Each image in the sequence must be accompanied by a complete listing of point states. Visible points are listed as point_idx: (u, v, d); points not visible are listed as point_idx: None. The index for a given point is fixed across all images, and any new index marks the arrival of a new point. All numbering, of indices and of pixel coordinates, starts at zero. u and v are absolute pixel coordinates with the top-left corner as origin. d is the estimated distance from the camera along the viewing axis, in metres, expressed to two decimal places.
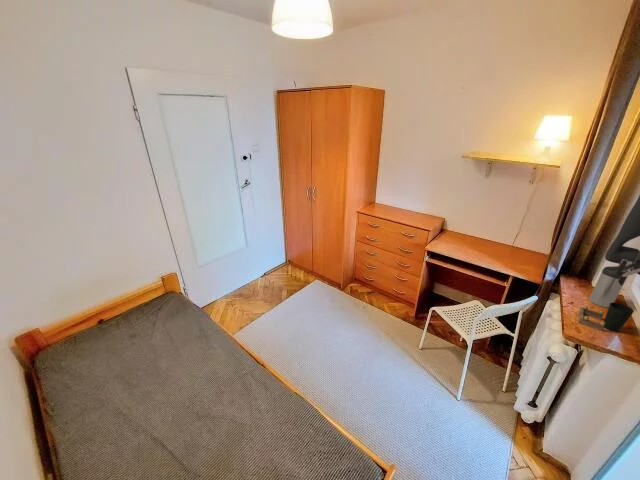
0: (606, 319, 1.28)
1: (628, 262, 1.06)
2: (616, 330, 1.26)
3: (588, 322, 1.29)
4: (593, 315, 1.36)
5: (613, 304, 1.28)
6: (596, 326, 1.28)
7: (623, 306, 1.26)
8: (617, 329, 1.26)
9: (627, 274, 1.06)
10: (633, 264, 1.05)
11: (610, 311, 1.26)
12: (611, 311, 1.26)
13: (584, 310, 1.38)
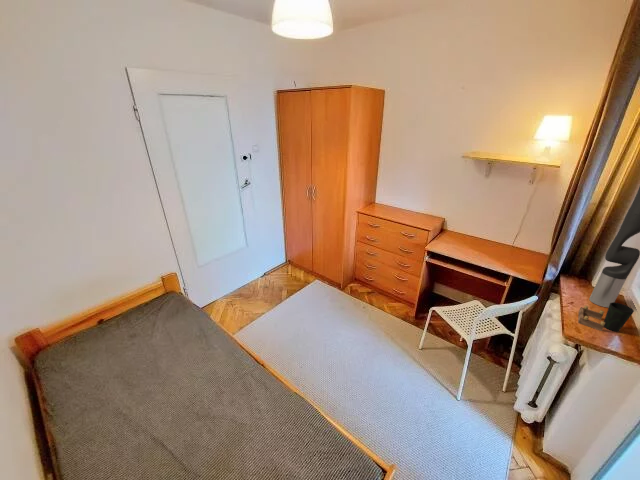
0: (606, 319, 1.28)
1: None
2: (616, 330, 1.26)
3: (588, 322, 1.29)
4: (593, 315, 1.36)
5: (613, 304, 1.28)
6: (596, 326, 1.28)
7: (623, 306, 1.26)
8: (617, 329, 1.26)
9: None
10: None
11: (610, 311, 1.26)
12: (611, 311, 1.26)
13: (584, 310, 1.38)
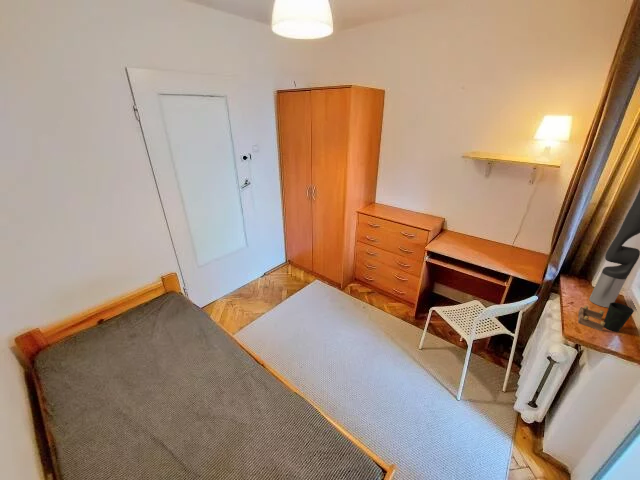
0: (606, 319, 1.28)
1: None
2: (616, 330, 1.26)
3: (588, 322, 1.29)
4: (593, 315, 1.36)
5: (613, 304, 1.28)
6: (596, 326, 1.28)
7: (623, 306, 1.26)
8: (617, 329, 1.26)
9: None
10: None
11: (610, 311, 1.26)
12: (611, 311, 1.26)
13: (584, 310, 1.38)
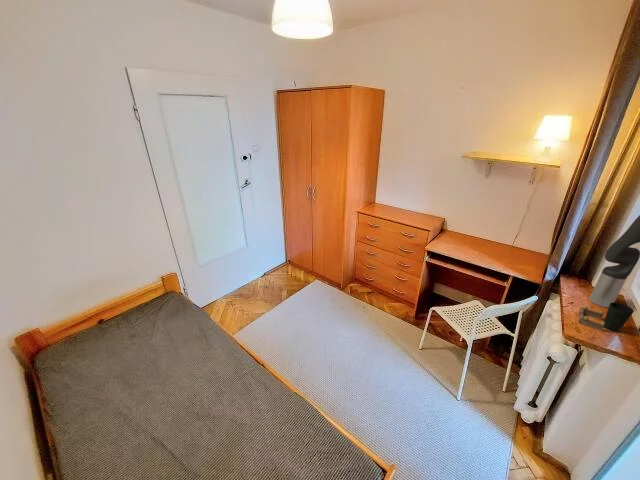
0: (606, 319, 1.28)
1: None
2: (616, 330, 1.26)
3: (588, 322, 1.29)
4: (593, 315, 1.36)
5: (613, 304, 1.28)
6: (596, 326, 1.28)
7: (623, 306, 1.26)
8: (617, 329, 1.26)
9: None
10: None
11: (610, 311, 1.26)
12: (611, 311, 1.26)
13: (584, 310, 1.38)
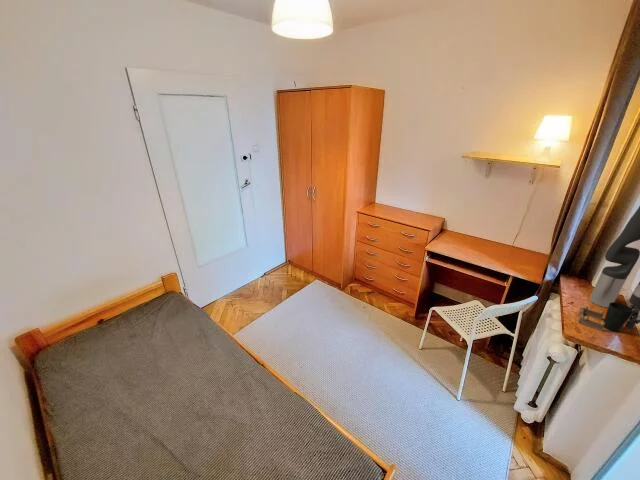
0: (606, 319, 1.28)
1: None
2: (616, 330, 1.26)
3: (588, 322, 1.29)
4: (593, 315, 1.36)
5: (613, 304, 1.28)
6: (596, 326, 1.28)
7: (623, 306, 1.26)
8: (617, 329, 1.26)
9: None
10: None
11: (609, 311, 1.26)
12: (611, 311, 1.26)
13: (584, 310, 1.38)
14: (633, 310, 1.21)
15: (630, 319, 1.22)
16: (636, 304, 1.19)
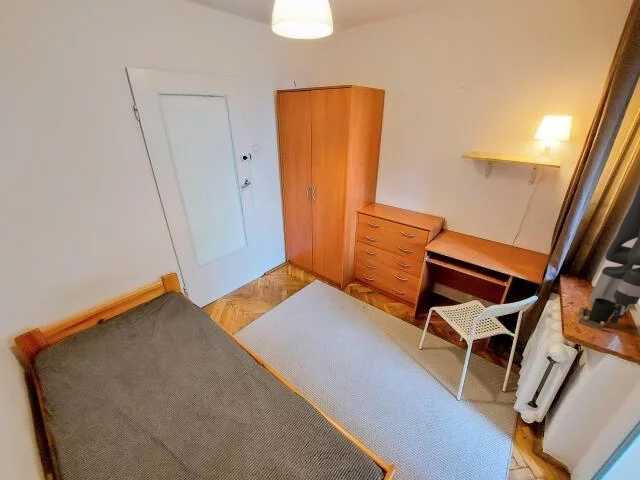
0: (591, 314, 1.31)
1: None
2: None
3: (588, 322, 1.29)
4: None
5: (598, 300, 1.31)
6: (596, 326, 1.28)
7: (608, 301, 1.29)
8: None
9: None
10: (626, 308, 1.21)
11: (594, 307, 1.29)
12: (595, 306, 1.29)
13: (584, 310, 1.38)
14: (617, 305, 1.24)
15: (614, 314, 1.25)
16: (619, 299, 1.22)
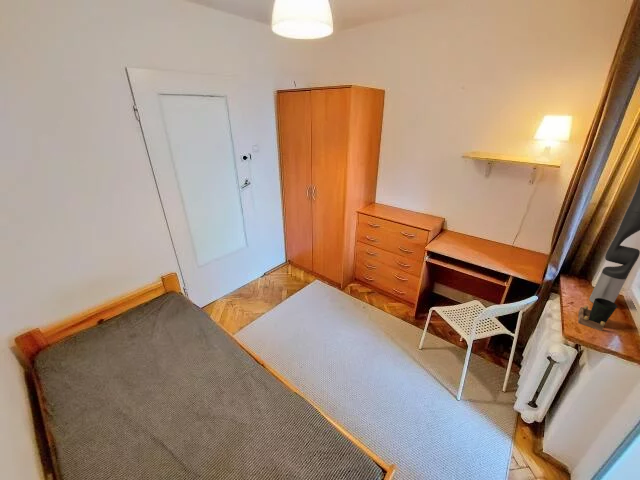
0: (591, 314, 1.31)
1: None
2: None
3: (588, 322, 1.29)
4: None
5: (598, 300, 1.31)
6: (596, 326, 1.28)
7: (608, 301, 1.29)
8: None
9: None
10: None
11: (594, 307, 1.29)
12: (595, 306, 1.29)
13: (584, 310, 1.38)
14: None
15: None
16: None
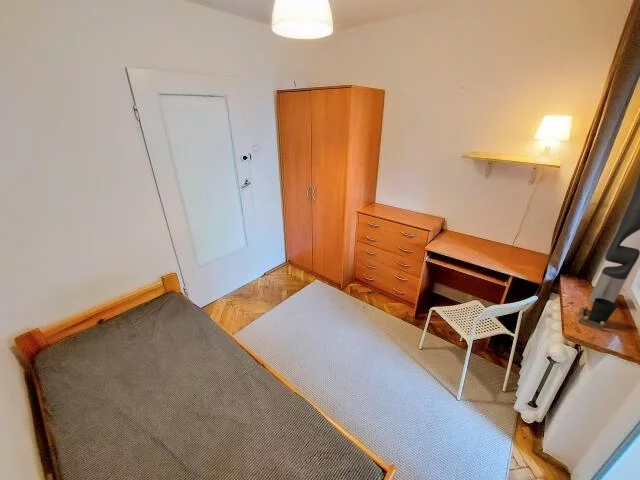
0: (591, 314, 1.31)
1: None
2: None
3: (588, 322, 1.29)
4: None
5: (598, 300, 1.31)
6: (596, 326, 1.28)
7: (608, 301, 1.29)
8: None
9: None
10: None
11: (594, 307, 1.29)
12: (595, 306, 1.29)
13: (584, 310, 1.38)
14: None
15: None
16: None
